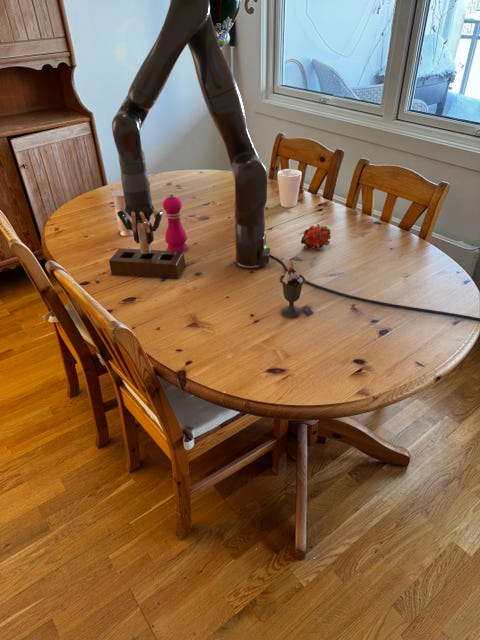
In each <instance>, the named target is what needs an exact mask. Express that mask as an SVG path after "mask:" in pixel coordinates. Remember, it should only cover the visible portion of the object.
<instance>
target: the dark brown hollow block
mask: <svg viewBox="0 0 480 640" xmlns="http://www.w3.org/2000/svg"><path fill="white" fill-rule="evenodd" d="M108 264H109V268H110V273H111V276H122V277H123V276H124V277H139V278H153V279H170V280H171V279H172V280H179V279H180V276H181V274H182V273H183V270H184V269H185V268H186V261H185V252H180V251H168V250H160V249H151V252H150V253H148V254H142V253H141V250H140V248H122V247H121V248H118V249H117V251H116V252H114V254H113V255H112V257H110V259H108Z"/></svg>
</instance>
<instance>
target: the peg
mask: <svg viewBox="0 0 480 640" xmlns="http://www.w3.org/2000/svg"><path fill="white" fill-rule="evenodd" d="M136 224H137V231H138V237H139V243H138V244H139V249H140V250H141V253H142V254H148V253H150V252H151V250H152V249H151V244H148V241H147V234H146V233H147V231H146V228H145V226H144V224H143V221H142V219H136Z"/></svg>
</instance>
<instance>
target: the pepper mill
mask: <svg viewBox="0 0 480 640" xmlns="http://www.w3.org/2000/svg"><path fill="white" fill-rule="evenodd" d="M182 203H183V202H182V201H181V199H180V198H179V197H177V196H175V194H174V192H169V193H168V196H167V197H165V199H164V200H163V201H162V208H163V210H164V211H165V218H167V228H166V231H165V234H164V235H165V236H164V240H165V242H166V244H167V251H180V252H184V253H186V251H187V249H188V247H187V244H186V242H187V240H188V237H187V236H188V235H187V233H186V231H185V229H184V227H183V225H182V221H181V217H182V211H181V210H182V207H183V204H182Z"/></svg>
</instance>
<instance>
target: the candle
mask: <svg viewBox="0 0 480 640" xmlns="http://www.w3.org/2000/svg"><path fill="white" fill-rule="evenodd" d="M111 196H112V197H113V199H112V200H113V203H114V215H115V220H116V221H117V229H118V231H120V233H119V234H120V235H121V236H123V237H130V236H134V235H133V231H131V230H127V229H126V228H125V226H124V224H123V223H122V221H121V219H120V218H119V216H118V214H117V213H118V212H119V211H120V210H121V209H125V207H126V203H125V199H124V193H123V188H121V189H117V190H113V191H112V192H111ZM127 216H128V218H129V219H130V221H131V223H132V218H131V217H130V216H129V214H128V213H127Z"/></svg>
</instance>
